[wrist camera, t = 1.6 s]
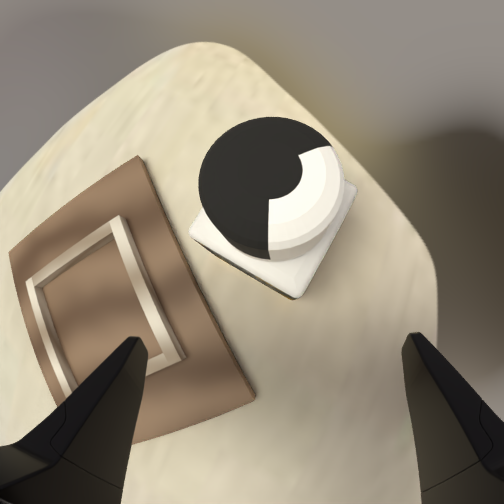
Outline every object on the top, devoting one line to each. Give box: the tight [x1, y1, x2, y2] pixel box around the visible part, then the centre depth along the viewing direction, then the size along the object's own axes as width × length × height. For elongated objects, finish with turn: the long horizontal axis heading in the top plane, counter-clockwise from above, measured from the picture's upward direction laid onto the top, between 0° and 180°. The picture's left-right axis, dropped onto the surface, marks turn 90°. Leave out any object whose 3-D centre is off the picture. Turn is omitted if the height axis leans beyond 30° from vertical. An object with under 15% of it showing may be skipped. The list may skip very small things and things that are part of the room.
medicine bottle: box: [188, 117, 358, 300], centre depth 17 cm, size 7×7×12 cm
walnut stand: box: [9, 155, 256, 444], centre depth 22 cm, size 22×18×2 cm
